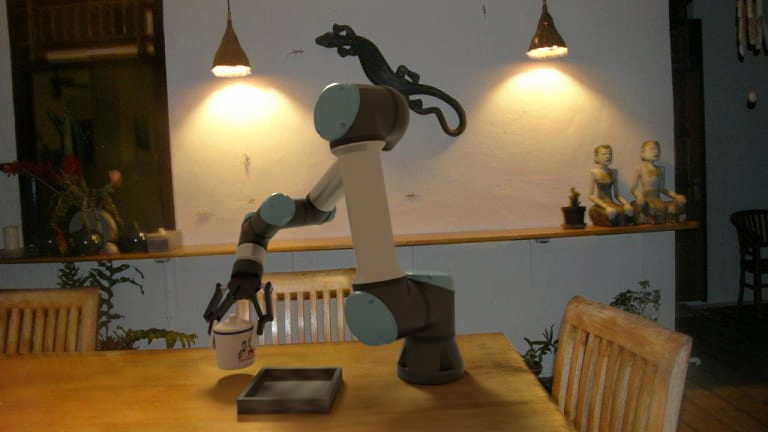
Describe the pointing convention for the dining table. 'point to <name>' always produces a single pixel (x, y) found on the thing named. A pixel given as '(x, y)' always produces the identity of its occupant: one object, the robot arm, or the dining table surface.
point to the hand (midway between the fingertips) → (232, 347)
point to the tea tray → (291, 391)
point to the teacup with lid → (234, 343)
